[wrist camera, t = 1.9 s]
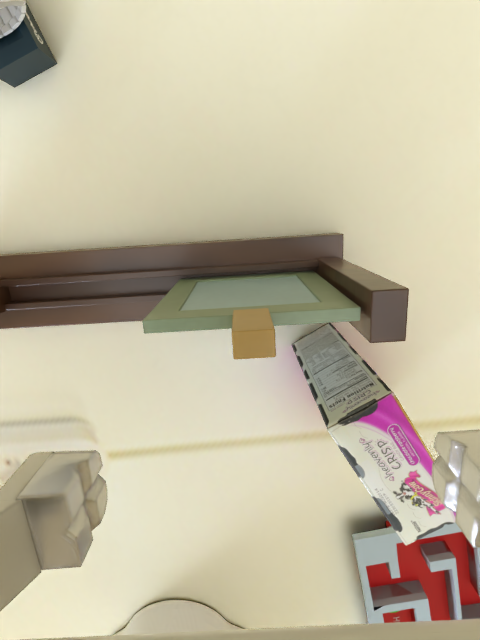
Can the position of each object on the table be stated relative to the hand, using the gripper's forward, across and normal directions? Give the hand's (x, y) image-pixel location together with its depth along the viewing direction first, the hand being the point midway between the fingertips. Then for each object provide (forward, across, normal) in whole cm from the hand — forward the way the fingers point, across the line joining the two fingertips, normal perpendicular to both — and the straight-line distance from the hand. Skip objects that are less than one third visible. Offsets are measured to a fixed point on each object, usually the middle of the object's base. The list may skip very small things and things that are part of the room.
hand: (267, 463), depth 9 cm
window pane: (+27, 0, 0) cm, 27 cm away
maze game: (+29, +23, -46) cm, 59 cm away
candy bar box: (+29, +9, -11) cm, 32 cm away
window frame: (+29, -8, 0) cm, 30 cm away
